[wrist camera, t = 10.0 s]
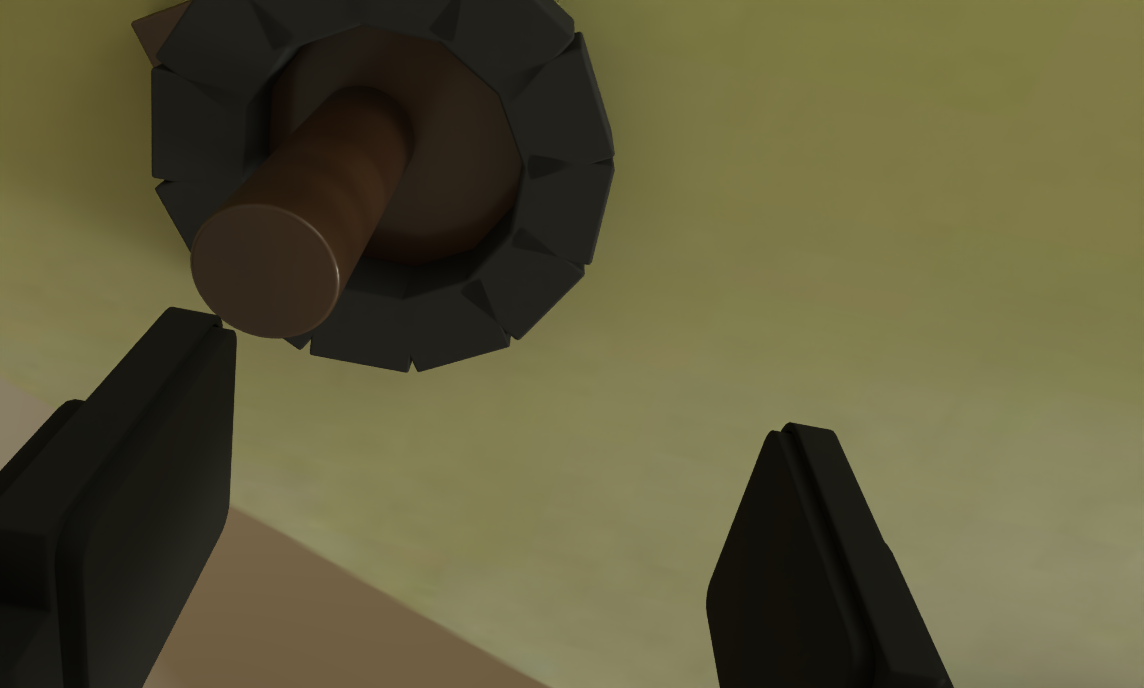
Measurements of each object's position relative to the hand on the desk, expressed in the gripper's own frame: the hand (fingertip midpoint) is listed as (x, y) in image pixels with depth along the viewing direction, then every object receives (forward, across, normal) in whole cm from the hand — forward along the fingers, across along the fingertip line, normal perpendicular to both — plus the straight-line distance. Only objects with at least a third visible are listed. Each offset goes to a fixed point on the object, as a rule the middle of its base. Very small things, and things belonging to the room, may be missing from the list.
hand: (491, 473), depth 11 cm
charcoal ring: (+12, +3, 0) cm, 13 cm away
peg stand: (+13, +4, 0) cm, 14 cm away
